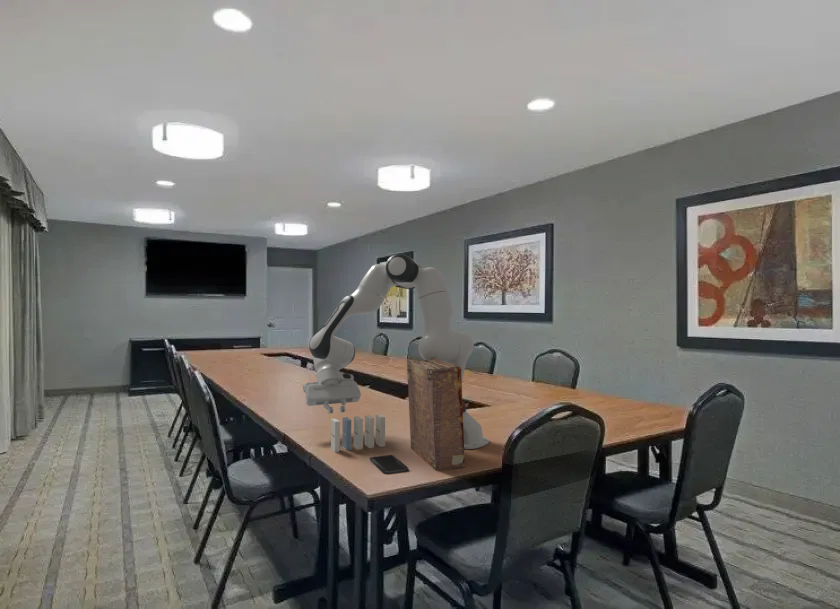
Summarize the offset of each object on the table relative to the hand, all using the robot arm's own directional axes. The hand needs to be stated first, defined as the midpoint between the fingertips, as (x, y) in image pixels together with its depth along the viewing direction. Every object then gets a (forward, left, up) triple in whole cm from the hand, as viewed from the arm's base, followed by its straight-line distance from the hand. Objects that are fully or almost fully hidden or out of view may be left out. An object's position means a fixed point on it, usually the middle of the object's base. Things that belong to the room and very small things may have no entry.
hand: (337, 411), depth 183 cm
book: (-41, -4, -10) cm, 42 cm away
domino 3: (-14, +3, -10) cm, 17 cm away
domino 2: (-11, +6, -10) cm, 16 cm away
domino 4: (-15, 0, -10) cm, 18 cm away
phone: (-34, +12, -10) cm, 38 cm away
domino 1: (-10, +10, -10) cm, 17 cm away
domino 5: (-17, -4, -10) cm, 20 cm away
